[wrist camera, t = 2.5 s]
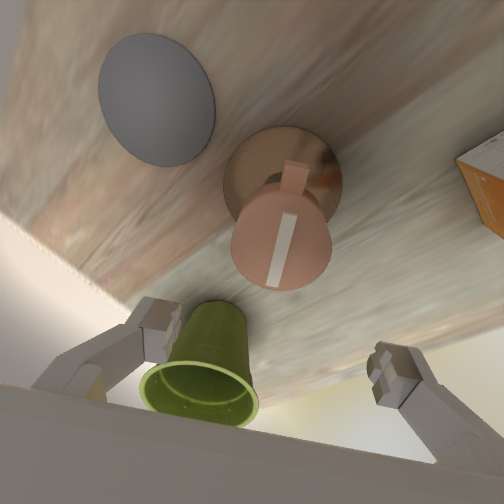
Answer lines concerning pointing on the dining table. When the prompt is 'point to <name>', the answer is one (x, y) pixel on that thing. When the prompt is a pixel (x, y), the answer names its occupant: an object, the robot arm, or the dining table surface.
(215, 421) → the plant pot
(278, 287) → the cap
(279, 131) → the brown wide round part
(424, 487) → the robot arm
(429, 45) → the dining table surface
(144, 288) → the dining table surface
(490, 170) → the small box
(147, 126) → the pad
